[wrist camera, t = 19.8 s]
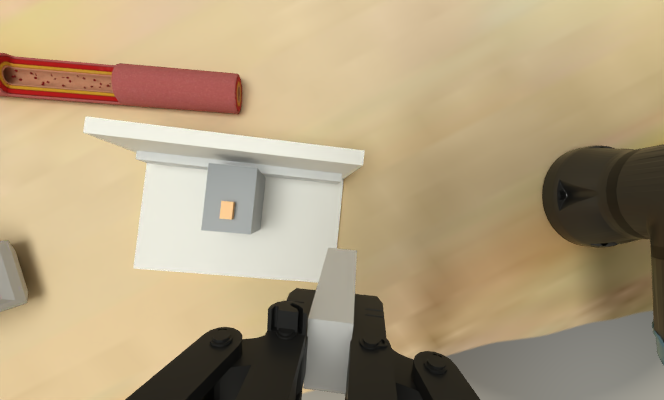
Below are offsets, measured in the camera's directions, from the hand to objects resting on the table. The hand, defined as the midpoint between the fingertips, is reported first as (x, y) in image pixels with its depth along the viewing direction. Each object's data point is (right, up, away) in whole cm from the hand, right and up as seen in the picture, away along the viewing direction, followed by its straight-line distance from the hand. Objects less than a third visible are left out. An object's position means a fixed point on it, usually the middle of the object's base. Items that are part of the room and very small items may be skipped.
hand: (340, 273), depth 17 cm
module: (-12, +4, +27) cm, 30 cm away
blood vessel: (-34, +19, +26) cm, 47 cm away
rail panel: (-12, +2, +28) cm, 30 cm away
